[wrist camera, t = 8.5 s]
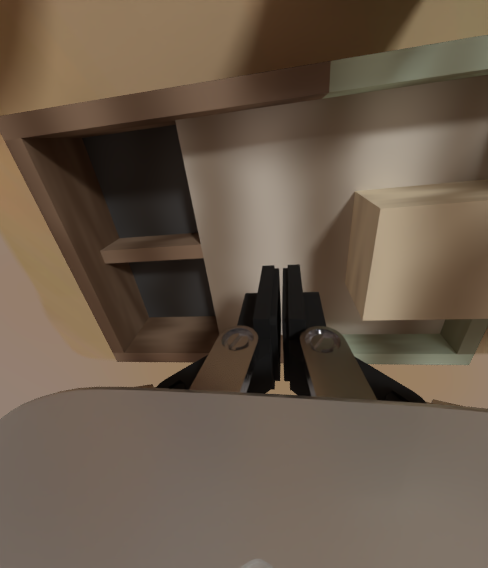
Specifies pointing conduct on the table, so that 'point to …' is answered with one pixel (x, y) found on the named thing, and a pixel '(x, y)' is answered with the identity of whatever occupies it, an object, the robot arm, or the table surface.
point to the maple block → (420, 252)
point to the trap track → (251, 192)
